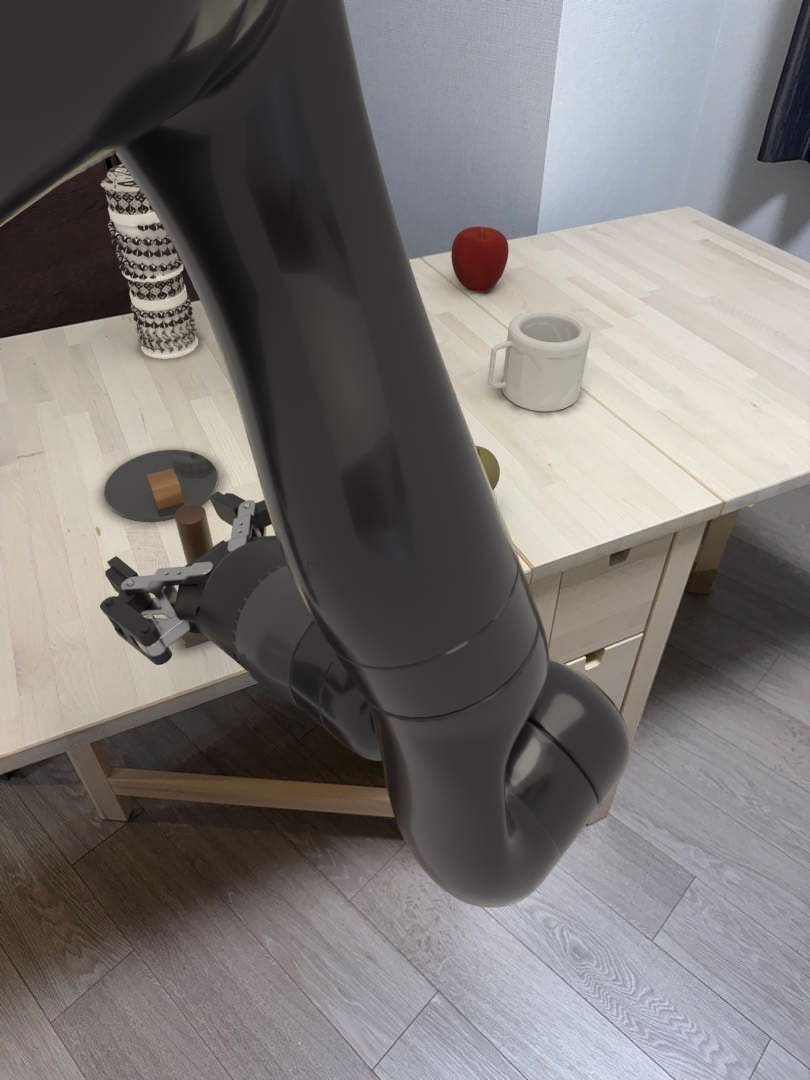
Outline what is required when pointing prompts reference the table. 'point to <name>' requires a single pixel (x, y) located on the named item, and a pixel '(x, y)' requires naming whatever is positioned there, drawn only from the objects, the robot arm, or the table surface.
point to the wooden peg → (193, 546)
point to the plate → (132, 488)
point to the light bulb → (489, 465)
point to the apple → (479, 257)
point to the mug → (543, 360)
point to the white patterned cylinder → (149, 270)
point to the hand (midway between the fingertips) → (168, 535)
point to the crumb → (165, 489)
